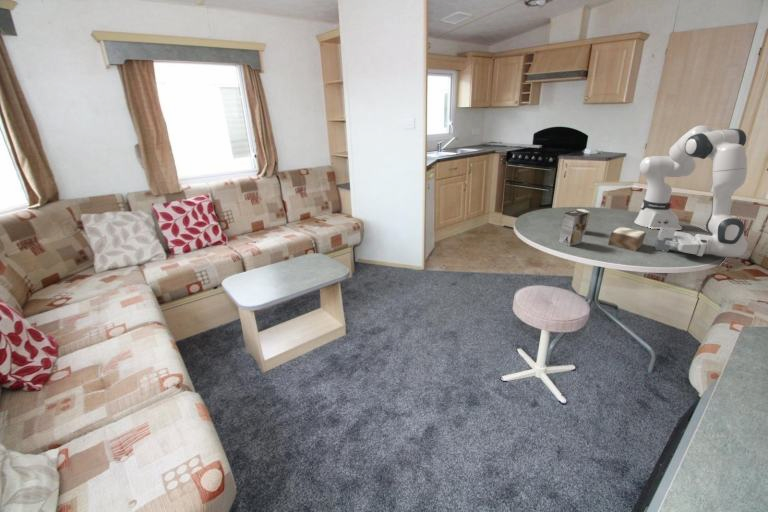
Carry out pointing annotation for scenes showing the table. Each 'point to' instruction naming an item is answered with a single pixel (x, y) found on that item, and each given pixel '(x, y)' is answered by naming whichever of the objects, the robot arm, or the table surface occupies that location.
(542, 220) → the table surface
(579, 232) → the coffee box
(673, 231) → the block
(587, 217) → the skincare box
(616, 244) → the walnut stand
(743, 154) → the robot arm
